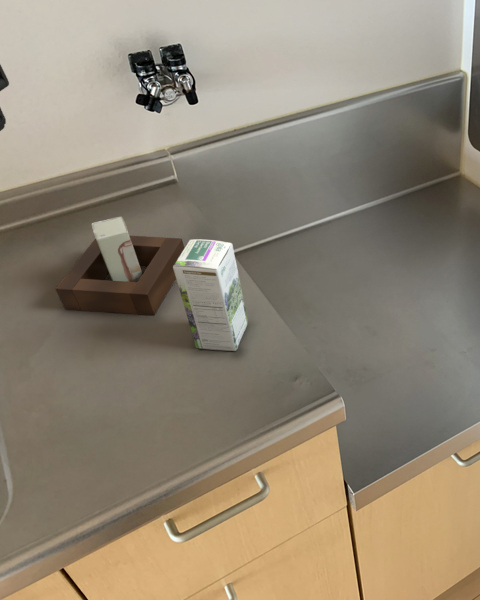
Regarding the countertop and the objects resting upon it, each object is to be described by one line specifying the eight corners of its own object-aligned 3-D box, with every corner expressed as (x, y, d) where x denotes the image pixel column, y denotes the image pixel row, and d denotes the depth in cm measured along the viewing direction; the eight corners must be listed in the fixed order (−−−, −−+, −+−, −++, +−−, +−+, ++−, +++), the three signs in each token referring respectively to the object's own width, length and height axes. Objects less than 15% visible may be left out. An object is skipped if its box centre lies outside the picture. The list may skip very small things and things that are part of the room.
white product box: (147, 287, 93) (128, 232, 86) (117, 296, 91) (95, 241, 84) (141, 268, 96) (122, 214, 89) (112, 276, 94) (90, 222, 88)
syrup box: (210, 320, 87) (186, 237, 77) (250, 323, 87) (232, 240, 77) (196, 349, 83) (169, 264, 73) (238, 352, 82) (217, 268, 73)
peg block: (65, 309, 89) (54, 288, 86) (107, 253, 99) (99, 233, 96) (154, 315, 88) (147, 294, 85) (187, 258, 98) (182, 238, 95)
